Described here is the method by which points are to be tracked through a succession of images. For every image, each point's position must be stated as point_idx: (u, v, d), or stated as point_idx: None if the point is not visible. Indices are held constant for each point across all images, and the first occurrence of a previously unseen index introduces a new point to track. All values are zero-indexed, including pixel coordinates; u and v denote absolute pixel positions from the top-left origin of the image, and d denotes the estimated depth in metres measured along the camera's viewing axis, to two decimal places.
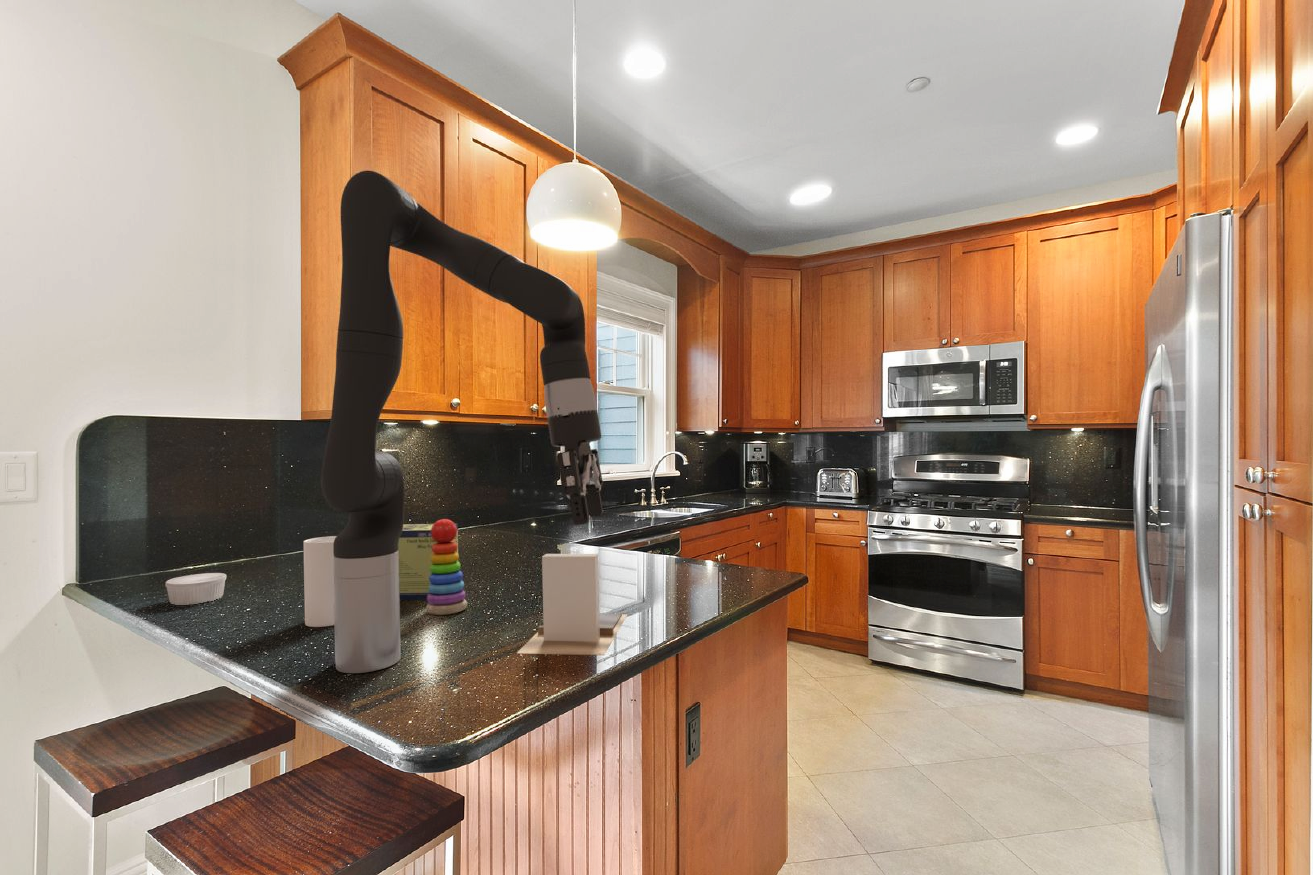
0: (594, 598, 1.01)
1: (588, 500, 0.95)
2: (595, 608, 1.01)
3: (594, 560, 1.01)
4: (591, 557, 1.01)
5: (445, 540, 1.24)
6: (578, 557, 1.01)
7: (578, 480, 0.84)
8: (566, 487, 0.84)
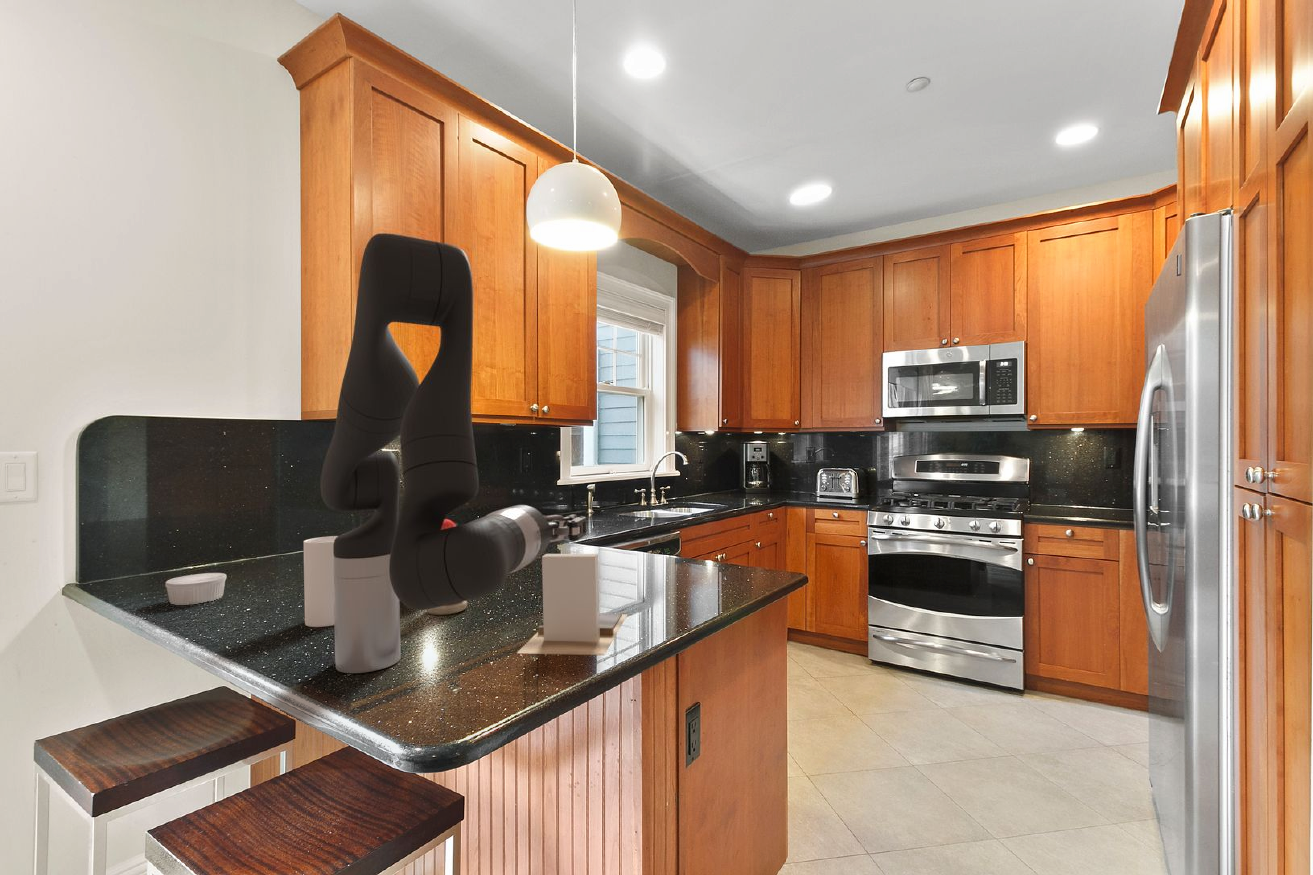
0: (594, 598, 1.01)
1: None
2: (595, 608, 1.01)
3: (594, 560, 1.01)
4: (591, 557, 1.01)
5: None
6: (578, 557, 1.01)
7: None
8: None
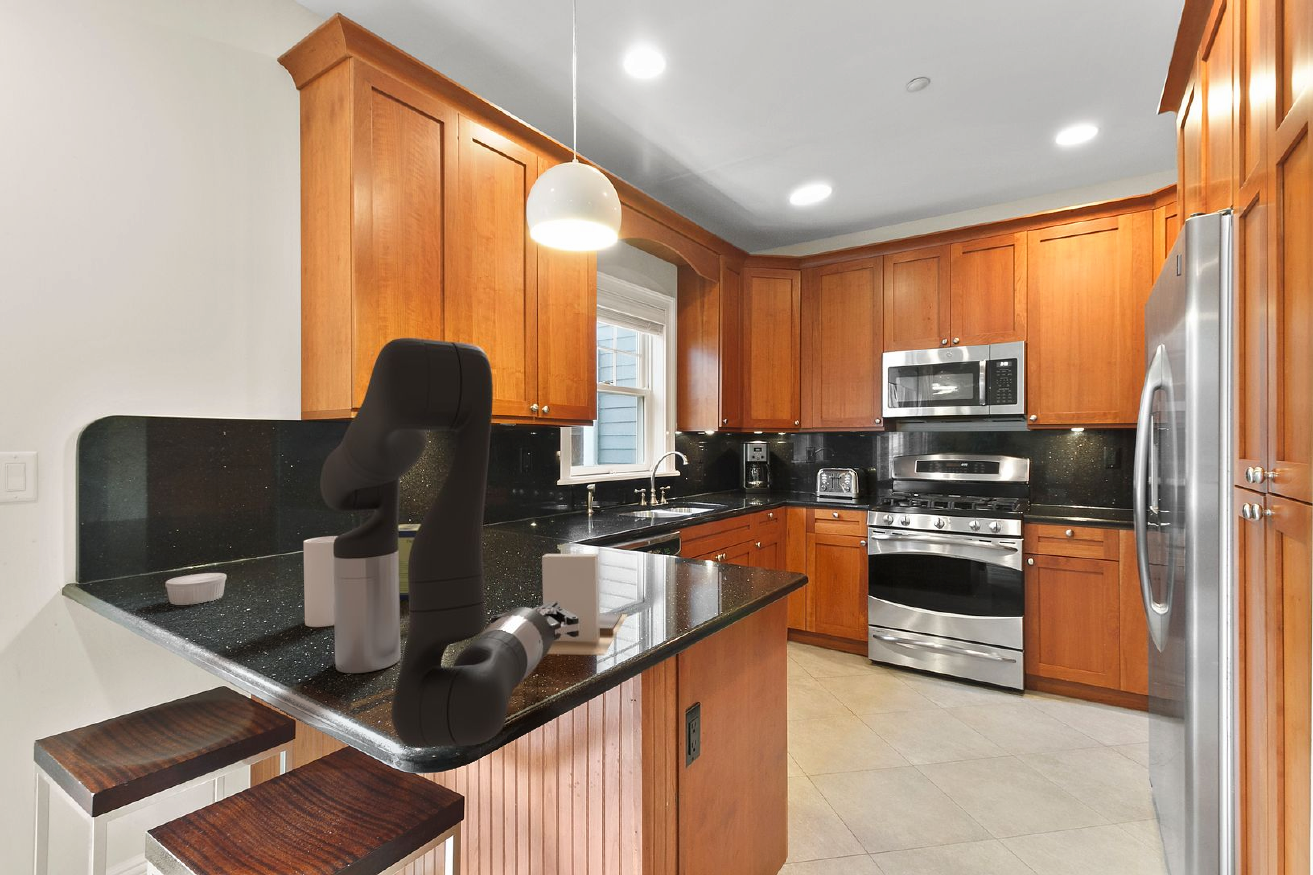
0: (594, 598, 1.01)
1: (548, 607, 0.89)
2: (595, 608, 1.01)
3: (594, 560, 1.01)
4: (591, 557, 1.01)
5: None
6: (578, 557, 1.01)
7: None
8: None
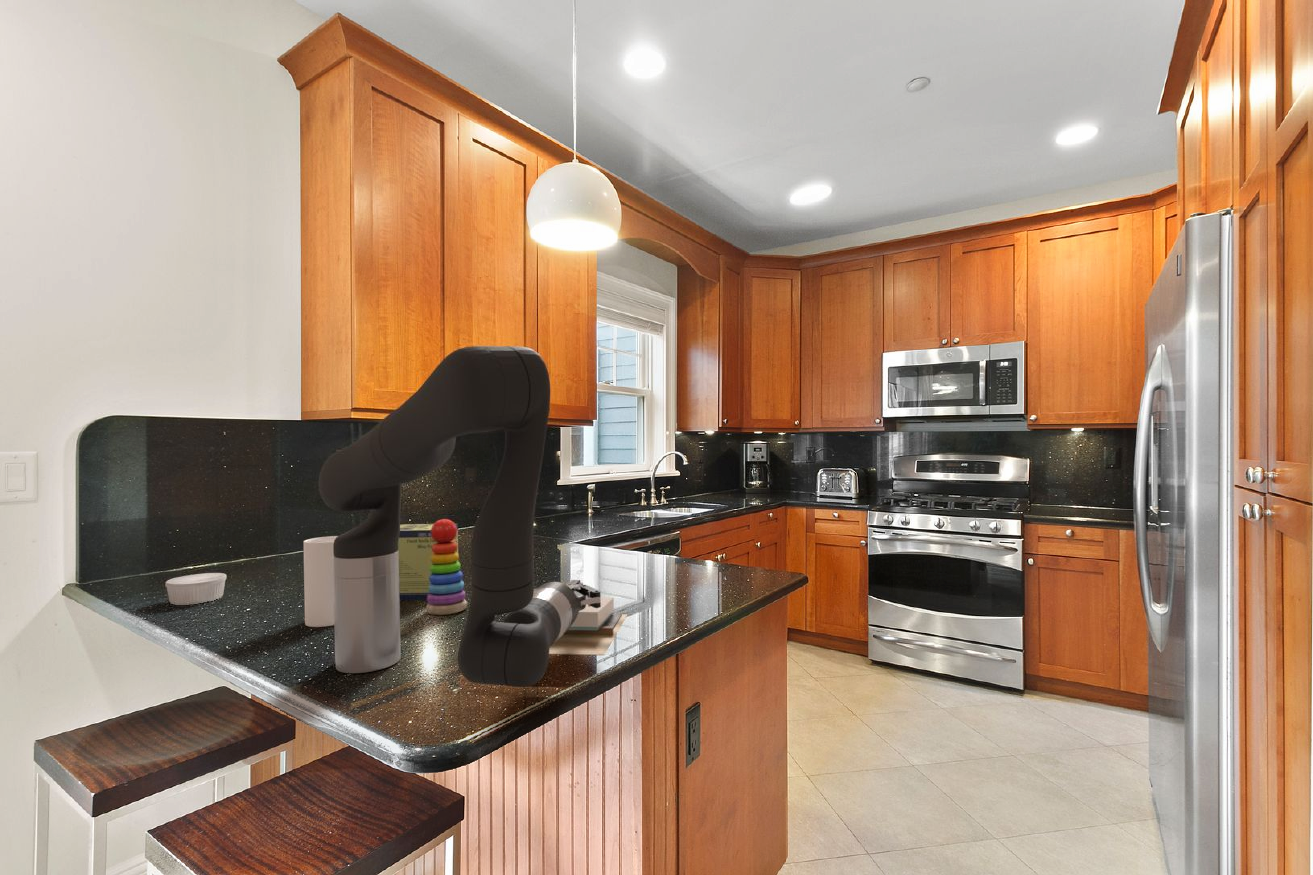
0: (604, 604, 1.09)
1: None
2: (603, 606, 1.07)
3: (612, 599, 1.15)
4: None
5: (445, 540, 1.24)
6: None
7: None
8: None
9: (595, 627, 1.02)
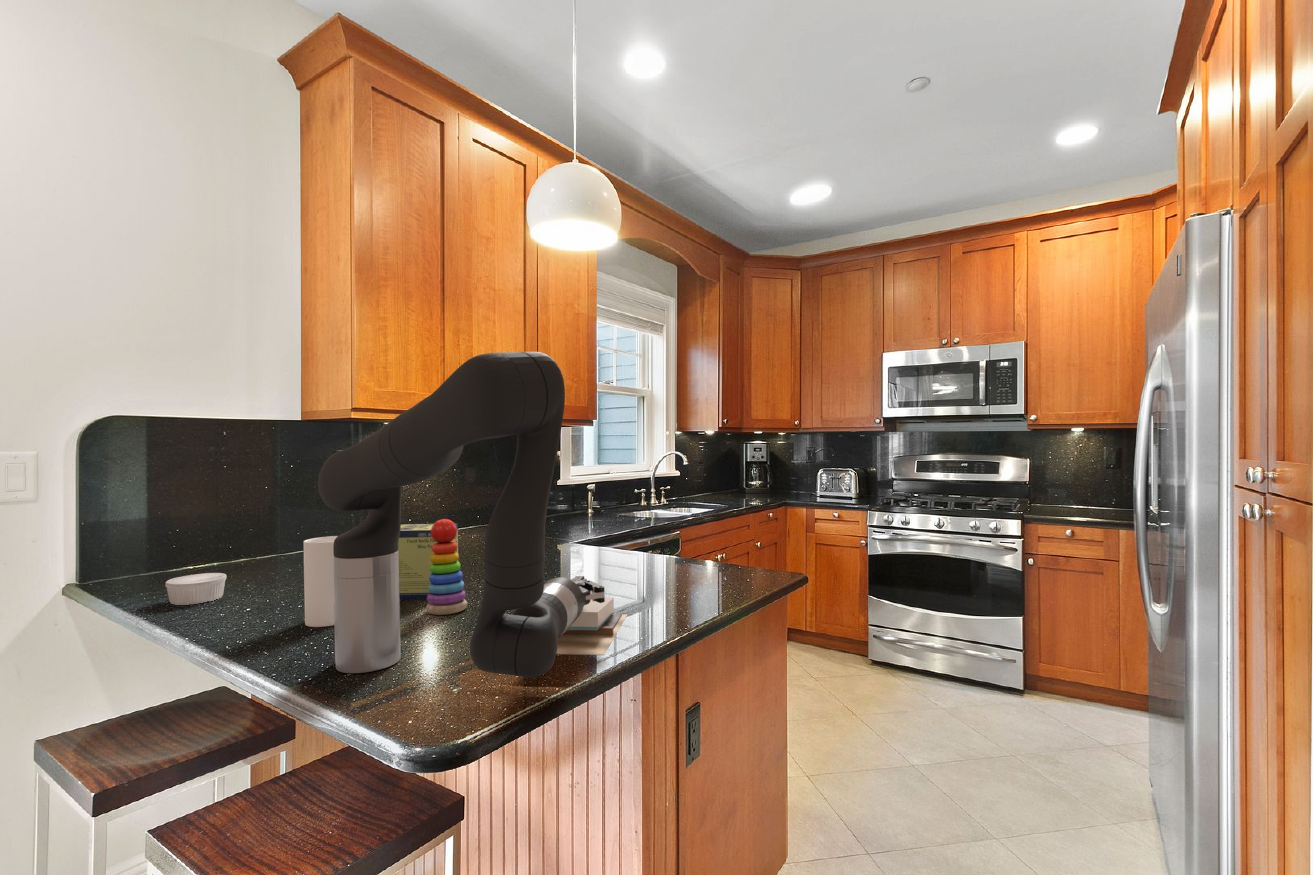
0: (604, 604, 1.09)
1: (577, 580, 1.07)
2: (603, 606, 1.07)
3: (612, 599, 1.15)
4: None
5: (445, 540, 1.24)
6: None
7: None
8: None
9: (595, 627, 1.02)
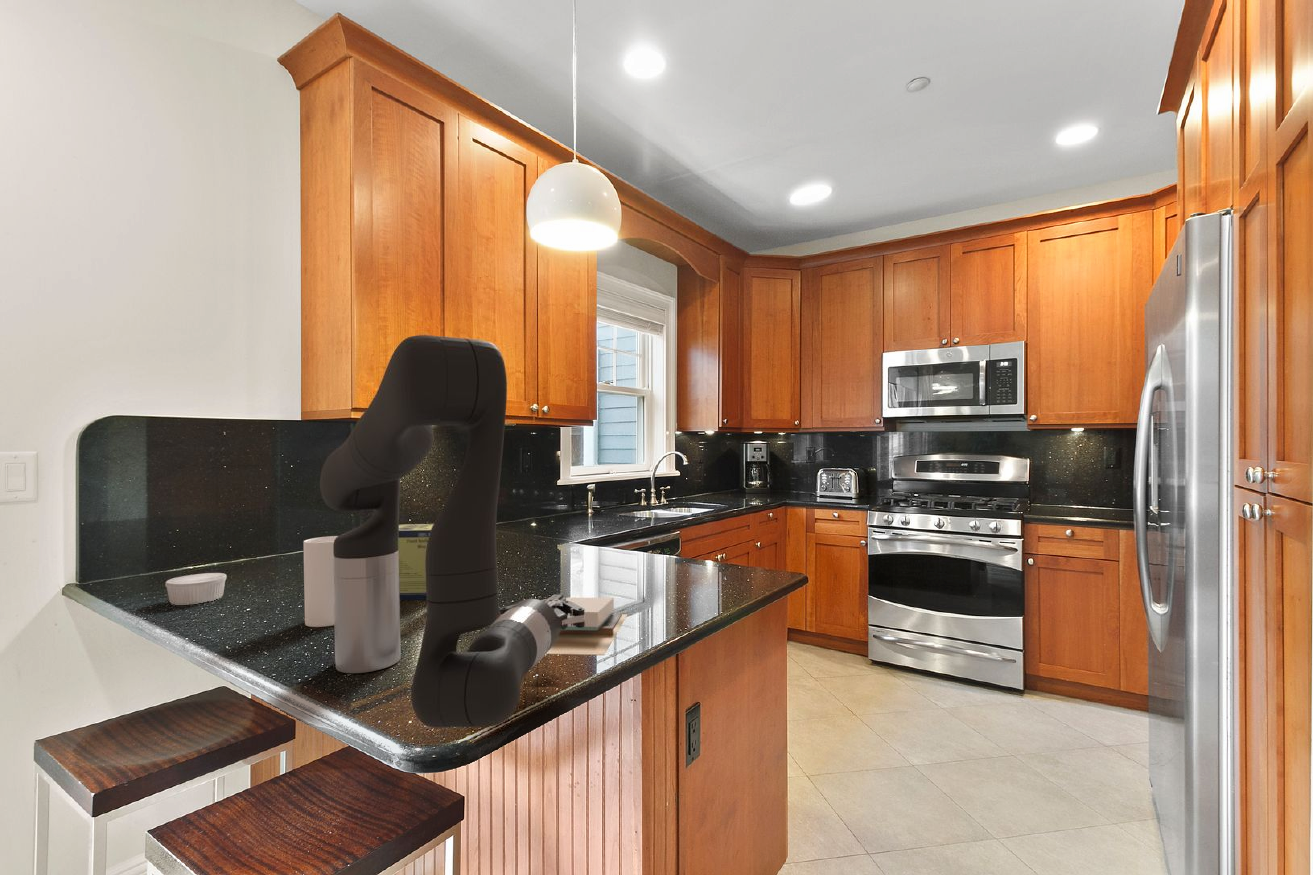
0: (604, 604, 1.09)
1: None
2: (603, 606, 1.07)
3: (612, 599, 1.15)
4: None
5: None
6: (598, 598, 1.16)
7: None
8: None
9: (595, 627, 1.02)
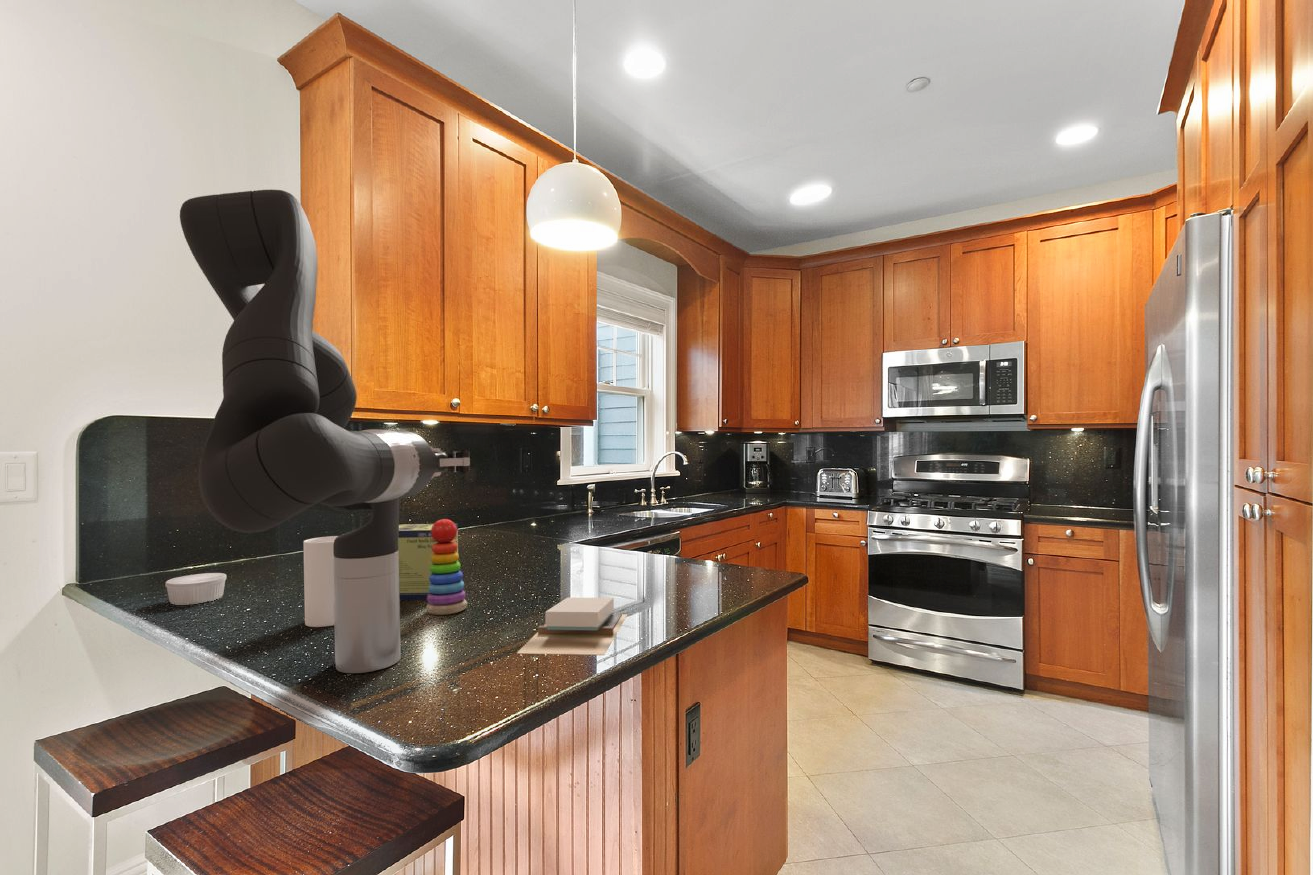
0: (604, 604, 1.09)
1: None
2: (603, 606, 1.07)
3: (612, 599, 1.15)
4: None
5: (445, 540, 1.24)
6: (598, 598, 1.16)
7: None
8: None
9: (595, 627, 1.02)
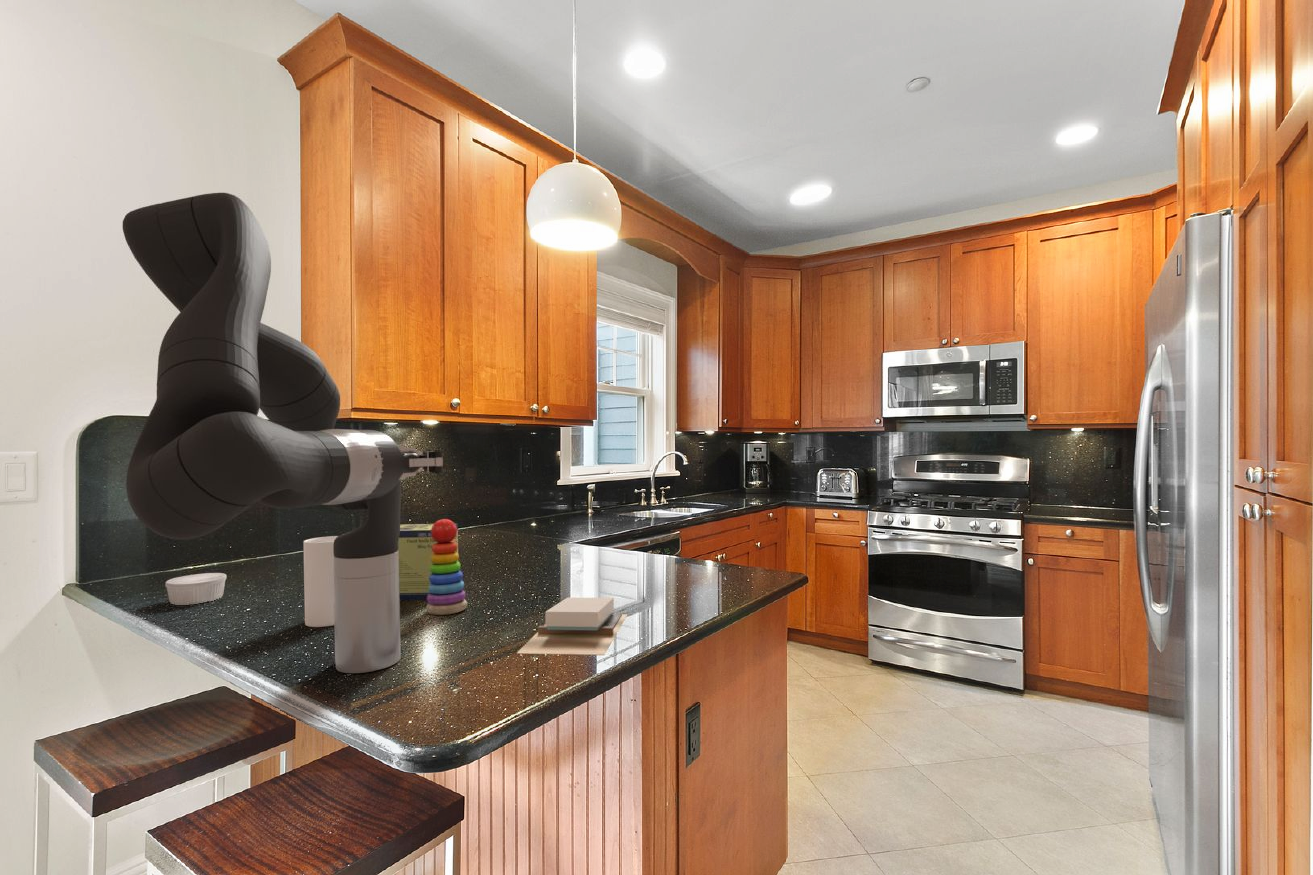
0: (604, 604, 1.09)
1: None
2: (603, 606, 1.07)
3: (612, 599, 1.15)
4: None
5: (445, 540, 1.24)
6: (598, 598, 1.16)
7: None
8: None
9: (595, 627, 1.02)
